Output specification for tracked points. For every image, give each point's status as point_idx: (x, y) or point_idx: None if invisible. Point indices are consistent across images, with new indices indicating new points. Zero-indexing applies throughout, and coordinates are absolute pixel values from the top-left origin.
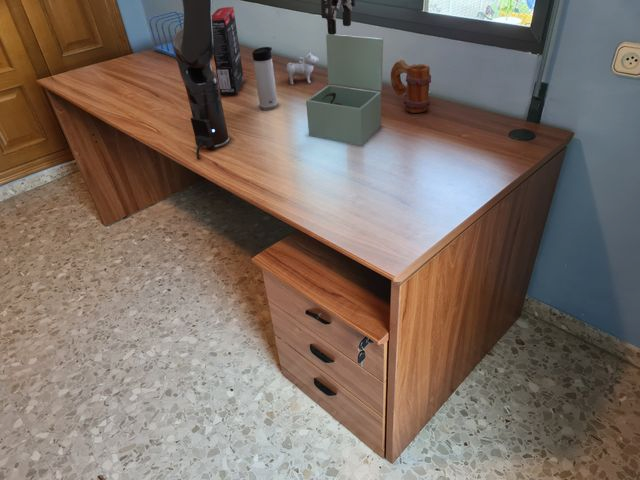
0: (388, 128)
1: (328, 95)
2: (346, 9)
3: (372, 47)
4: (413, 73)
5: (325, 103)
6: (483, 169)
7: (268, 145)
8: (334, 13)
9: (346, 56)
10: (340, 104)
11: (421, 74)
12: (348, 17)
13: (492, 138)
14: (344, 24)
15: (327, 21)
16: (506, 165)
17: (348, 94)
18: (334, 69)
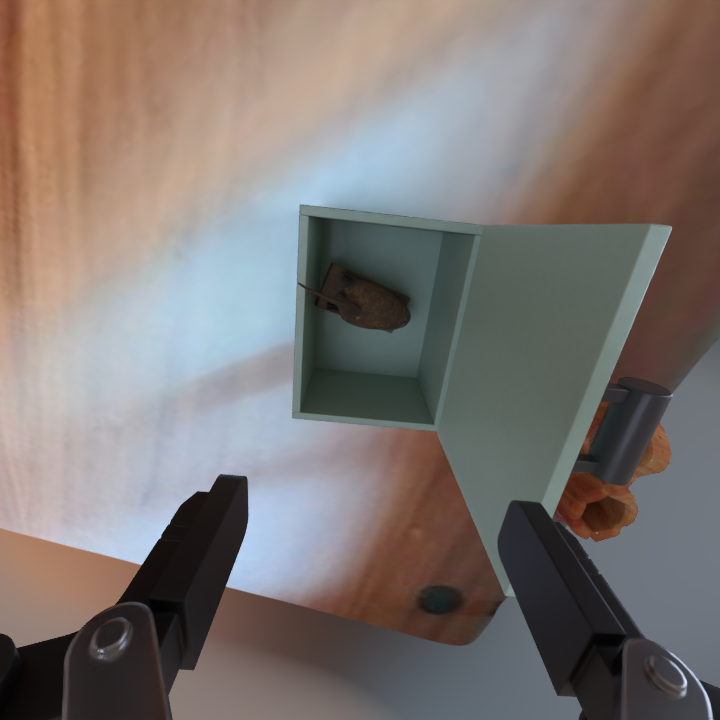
0: None
1: (325, 299)
2: (596, 700)
3: (500, 516)
4: (568, 499)
5: (298, 294)
6: (300, 570)
7: (211, 104)
8: None
9: (513, 354)
10: (360, 320)
11: (563, 518)
12: (530, 613)
13: (416, 569)
14: (512, 516)
15: (124, 595)
16: (325, 592)
17: (450, 314)
18: (500, 267)
